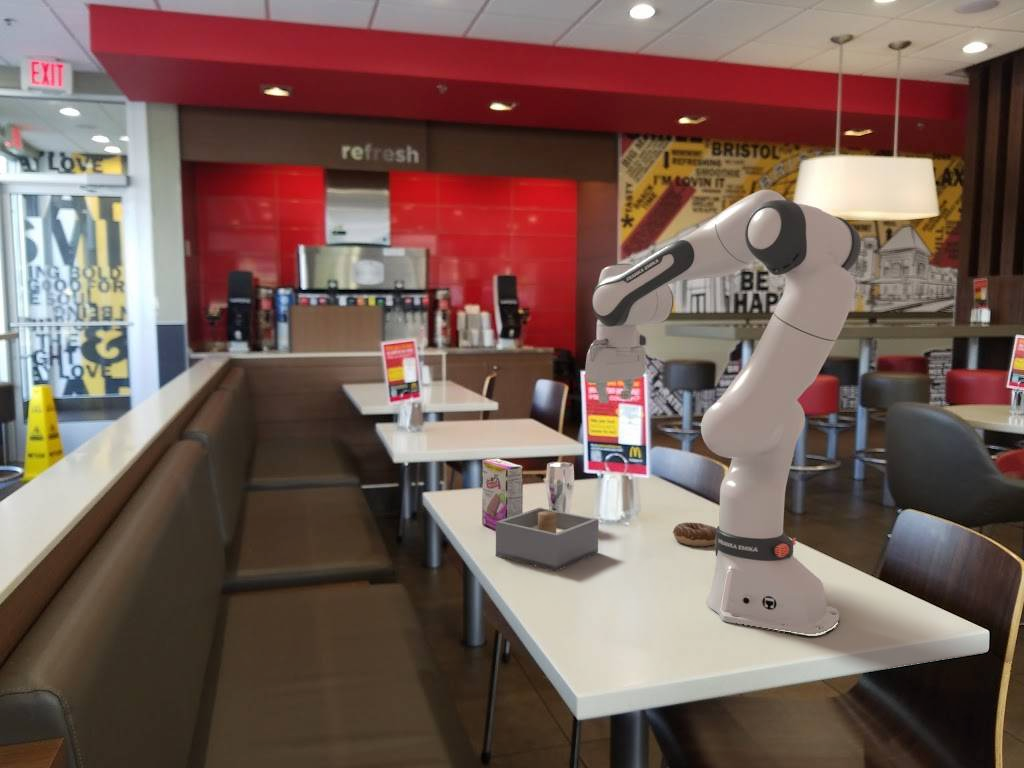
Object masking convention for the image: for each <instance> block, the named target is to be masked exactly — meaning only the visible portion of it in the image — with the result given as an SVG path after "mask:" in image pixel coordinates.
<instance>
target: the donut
mask: <svg viewBox="0 0 1024 768" xmlns="http://www.w3.org/2000/svg"><path fill="white" fill-rule="evenodd" d="M716 530H717V527H715V526H712V525H709V524H704V523H702V522H687V521H686V522H682V523H678V524H676V525H675V527H674V529H673V531H672V534H673V537H674V538H675V540H676V541H678V543H681V544H683V545H687V546H690V545H691V547H700V546H703V547H710V545H711V546H715V539H716Z"/></svg>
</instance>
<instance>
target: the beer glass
mask: <svg viewBox="0 0 1024 768" xmlns="http://www.w3.org/2000/svg"><path fill="white" fill-rule="evenodd" d="M574 470H575V469H574V464H573V463H571V462H566V461H552V462H548V463H547V464H546V471H545V472H546V475H545V486H546V495H547V496H546V497H547V502H548V509H549V510H554V511H559V512H564V513H569V514H571V505H572V500H573V494H574V487H575V471H574Z"/></svg>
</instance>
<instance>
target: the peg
mask: <svg viewBox="0 0 1024 768" xmlns="http://www.w3.org/2000/svg"><path fill="white" fill-rule="evenodd" d="M538 530H543V531H547V532H552V533H556V513H555V512H551V511H543V512H539V513H538Z"/></svg>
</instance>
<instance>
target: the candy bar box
mask: <svg viewBox="0 0 1024 768" xmlns="http://www.w3.org/2000/svg"><path fill="white" fill-rule="evenodd" d="M481 468H482V471H481V472H482V475H481V476H482V477H481V478H482V481H481V482H482V483H481V484H482V486H481V487H482V488H481V489H482V494H481V495H482V497H481V500H482V506H481V507H482V508H481V509H482V510H481V512H482V515H481V516H482V519H481V520H482V523H481V525H483V526H485V527H487V528H489V529H491V530H494V531H496V522H497V521H500V520H503V519H506V518H509V517H512V516H515V515H518V514H521V513H523V506H524V505H523V503H524V502H523V500H524V499H523V496H524V493H523V491H524V490H523V488H524V486H523V484H524V483H523V481H524V478H523V474H524V473H523V471H524V470H523V468H524V466H522V465H521V464H516V463H513V462H510V461H507V460H505V459H501V458H490V459H483V460H482V465H481Z"/></svg>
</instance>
